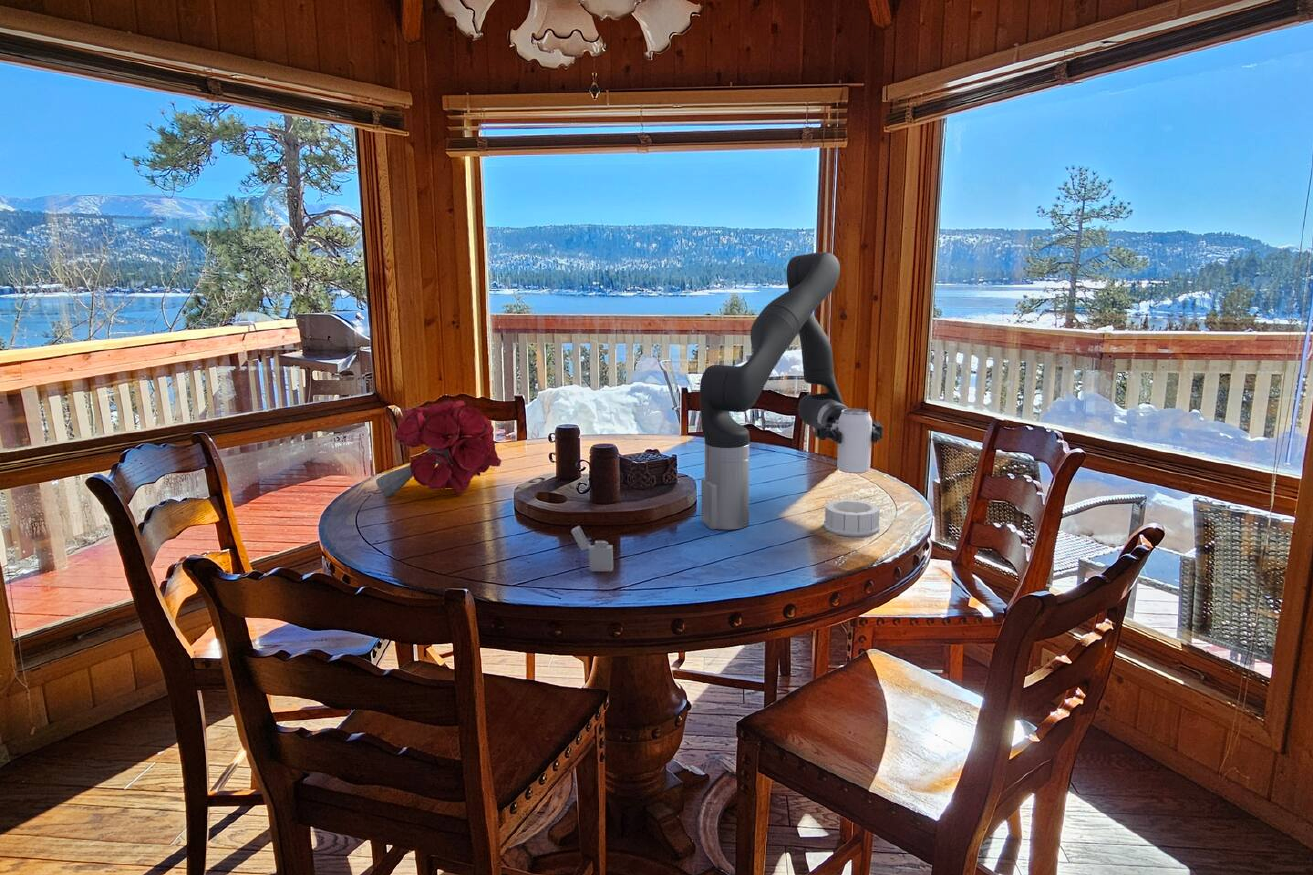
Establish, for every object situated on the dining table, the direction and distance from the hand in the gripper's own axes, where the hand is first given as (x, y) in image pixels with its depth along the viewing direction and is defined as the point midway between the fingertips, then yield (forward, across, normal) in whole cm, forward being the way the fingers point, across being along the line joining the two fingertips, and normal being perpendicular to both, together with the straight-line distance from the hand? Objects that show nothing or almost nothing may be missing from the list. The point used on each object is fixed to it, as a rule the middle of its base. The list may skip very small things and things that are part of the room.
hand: (857, 438), depth 157 cm
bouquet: (-35, -92, +20) cm, 101 cm away
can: (-2, 0, +7) cm, 8 cm away
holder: (-2, 0, +19) cm, 19 cm away
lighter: (+18, -52, +19) cm, 58 cm away
